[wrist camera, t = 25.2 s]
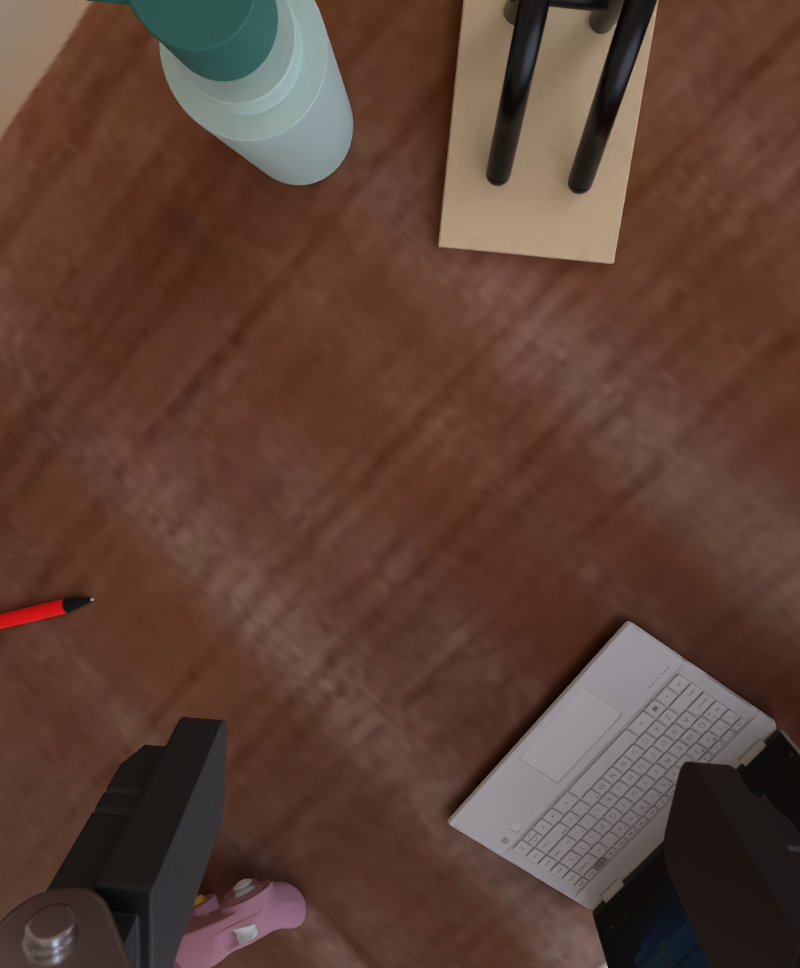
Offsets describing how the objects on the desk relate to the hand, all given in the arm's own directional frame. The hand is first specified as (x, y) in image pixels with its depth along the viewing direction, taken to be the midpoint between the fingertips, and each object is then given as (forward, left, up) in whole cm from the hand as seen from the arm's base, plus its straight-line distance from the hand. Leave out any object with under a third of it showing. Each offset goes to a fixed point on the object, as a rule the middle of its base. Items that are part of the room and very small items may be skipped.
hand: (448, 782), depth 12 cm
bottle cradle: (-12, -13, -28) cm, 33 cm away
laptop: (-2, +25, -28) cm, 38 cm away
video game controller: (+25, +24, -28) cm, 45 cm away
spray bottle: (-1, -17, -19) cm, 26 cm away
